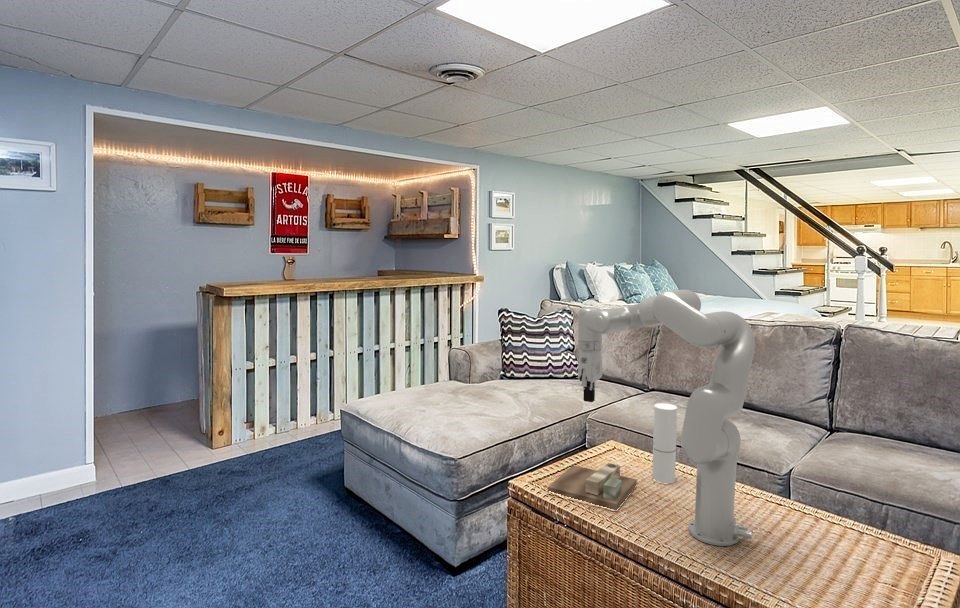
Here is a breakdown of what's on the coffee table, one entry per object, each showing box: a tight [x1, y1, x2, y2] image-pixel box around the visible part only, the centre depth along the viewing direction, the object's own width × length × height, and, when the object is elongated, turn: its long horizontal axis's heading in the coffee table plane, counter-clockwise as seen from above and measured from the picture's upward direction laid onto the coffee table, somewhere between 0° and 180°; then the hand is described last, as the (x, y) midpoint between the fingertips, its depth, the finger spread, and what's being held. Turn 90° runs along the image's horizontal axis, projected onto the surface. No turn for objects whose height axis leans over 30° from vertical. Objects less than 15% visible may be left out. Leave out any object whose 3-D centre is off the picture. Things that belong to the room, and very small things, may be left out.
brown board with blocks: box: [547, 464, 638, 510], centre depth 172 cm, size 22×20×6 cm
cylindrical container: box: [651, 402, 678, 483], centre depth 179 cm, size 7×7×25 cm
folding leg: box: [586, 462, 621, 495], centre depth 170 cm, size 16×4×4 cm, turn 142°
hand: (589, 401), depth 177 cm, fingers closed
